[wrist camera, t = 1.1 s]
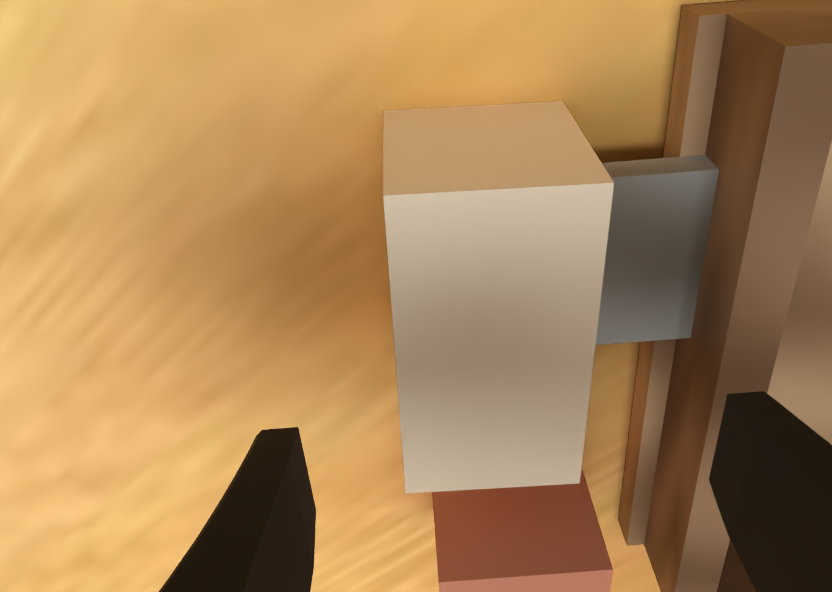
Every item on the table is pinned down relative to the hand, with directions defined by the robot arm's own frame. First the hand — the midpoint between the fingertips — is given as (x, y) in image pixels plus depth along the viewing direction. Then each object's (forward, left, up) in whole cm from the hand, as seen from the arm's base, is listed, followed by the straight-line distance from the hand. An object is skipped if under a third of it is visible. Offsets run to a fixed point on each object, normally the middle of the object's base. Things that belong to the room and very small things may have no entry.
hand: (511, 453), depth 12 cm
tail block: (-8, -1, -7) cm, 10 cm away
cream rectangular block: (0, 0, -7) cm, 7 cm away
